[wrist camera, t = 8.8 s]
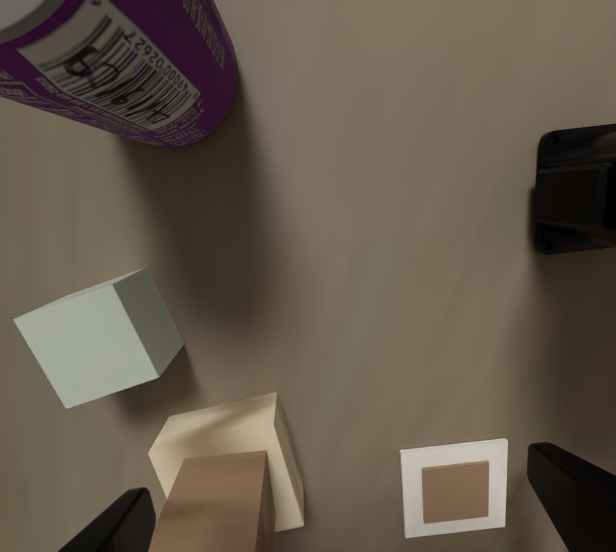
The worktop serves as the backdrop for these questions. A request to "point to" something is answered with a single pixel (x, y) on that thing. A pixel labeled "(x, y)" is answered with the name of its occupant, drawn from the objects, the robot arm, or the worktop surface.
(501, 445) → the swatch
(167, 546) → the walnut block
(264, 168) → the worktop surface
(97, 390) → the sage block
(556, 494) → the robot arm
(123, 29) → the beverage can
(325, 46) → the worktop surface
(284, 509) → the beech base
